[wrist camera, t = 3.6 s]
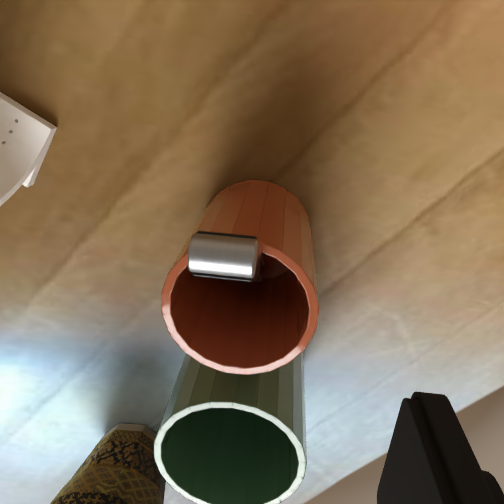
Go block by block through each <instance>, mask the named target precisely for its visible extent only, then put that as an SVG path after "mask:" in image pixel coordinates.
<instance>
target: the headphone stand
mask: <svg viewBox="0 0 504 504" xmlns="http://www.w3.org/2000/svg"><path fill="white" fill-rule="evenodd" d="M56 129H57V127H56V126H54V125H52V124H51V123H49V122H48V121H46V120H44V119H43V118H41V117H40V116H38V115H36V114H35V113H33V112H32V111H30V110H28V109H27V108H25V107H24V106H22V105H20V104H19V103H17V102H16V101H14V100H12V99H11V98H9V97H8V96H6V95H4V94H3V93H1V92H0V206H1V205H2V204H3V203H5V202H6V201H7V200H8V199H9V198H10V197H11V196H12V195H13V194H14V193H15V192H16V191H17V189H18V188H19V187H20V186H21V185H24V186H26V187H29V186H31V185H33V184H34V182H35V179H36V177H37V175H38V172H39V170H40V167H41V165H42V163H43V160H44V158H45V156H46V153H47V151H48V148H49V146H50V144H51V141H52V139H53V137H54V134H55V132H56Z"/></svg>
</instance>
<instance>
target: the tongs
mask: <svg viewBox="0 0 504 504" xmlns="http://www.w3.org/2000/svg"><path fill="white" fill-rule="evenodd" d="M261 253H262V252H261V249H260V246H259V243H258V241H257V238H256V237H255V236H249V235H238V234H228V233H218V232H208V231H198V232H197V233H194V234H193V235H192V237H191V239H190V243H189V248H188V269H189V271H191V272H192V275H193V276H197V277H207V278H217V279H226V280H236V281H245V282H264V277H263V276H260V275H259V273H260V268H265V265H266V263H265V261H264V260H263V257H262V255H261Z"/></svg>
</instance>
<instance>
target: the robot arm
mask: <svg viewBox="0 0 504 504" xmlns="http://www.w3.org/2000/svg"><path fill="white" fill-rule="evenodd" d="M377 504H504V494H503V492H502V490H501V488H500V486H499V484H498V482H497V481H496V479H495V477H494V476H492V474H490V473H489V472H487V471H482V470H481V468H480V466H479V464H478V462H477V459H476V457H475V455H474V453H473V451H472V449H471V447H470V444H469V442H468V440H467V438H466V436H465V434H464V431H463V429H462V427H461V425H460V423H459V421H458V418H457V416H456V414H455V412H454V410H453V408H452V406H451V403H450V401H449V400H448V398H447V397H446V396H445V395H442V394H433V393H424V392H414V393H413V394H412V397H411V399H410V398H404V399H403V401H402V403H401V407H400V411H399V414H398V418H397V421H396V425H395V429H394V432H393V436H392V439H391V443H390V447H389V450H388V454H387V458H386V461H385V465H384V468H383V472H382V475H381V479H380V483H379V486H378V491H377Z"/></svg>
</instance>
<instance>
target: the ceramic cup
mask: <svg viewBox="0 0 504 504" xmlns="http://www.w3.org/2000/svg"><path fill="white" fill-rule="evenodd" d="M156 435H157V433H156V432H154V431H153V430H152V429H150V428H149V427H148V426H146V425H142V424H126V423H119V424H117V425H116V426H115V427H114V428H112V429H111V430H110V431H109V432H108V433H106V434H105V435H104V436H103V437H102V439H101V440H100V441H99V443H98V444H97V445H96V447H95V448H94V449H93V451H92V452H91V453H90V455H89V456H88V457H87V459H86V460H85V461H84V463H83V464H82V465H81V466H80V468H79V469H78V470H77V472H76V473H75V474H74V476H73V477H72V479H71V480H70V481H69V482H68V483H67V484H66V485H65V486H64V487H63V488H62V490H61V491H60V492H59V493H58V495H57V496H56V497H55V498H54V500H53V501H52V502H51V503H50V504H163V501H164V492H165V483H166V480H165V479H164V477H163V476H162V475H161V474H160V471H159V469H158V467H157V464H156V462H155V459H154V440H155V438H156Z"/></svg>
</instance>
